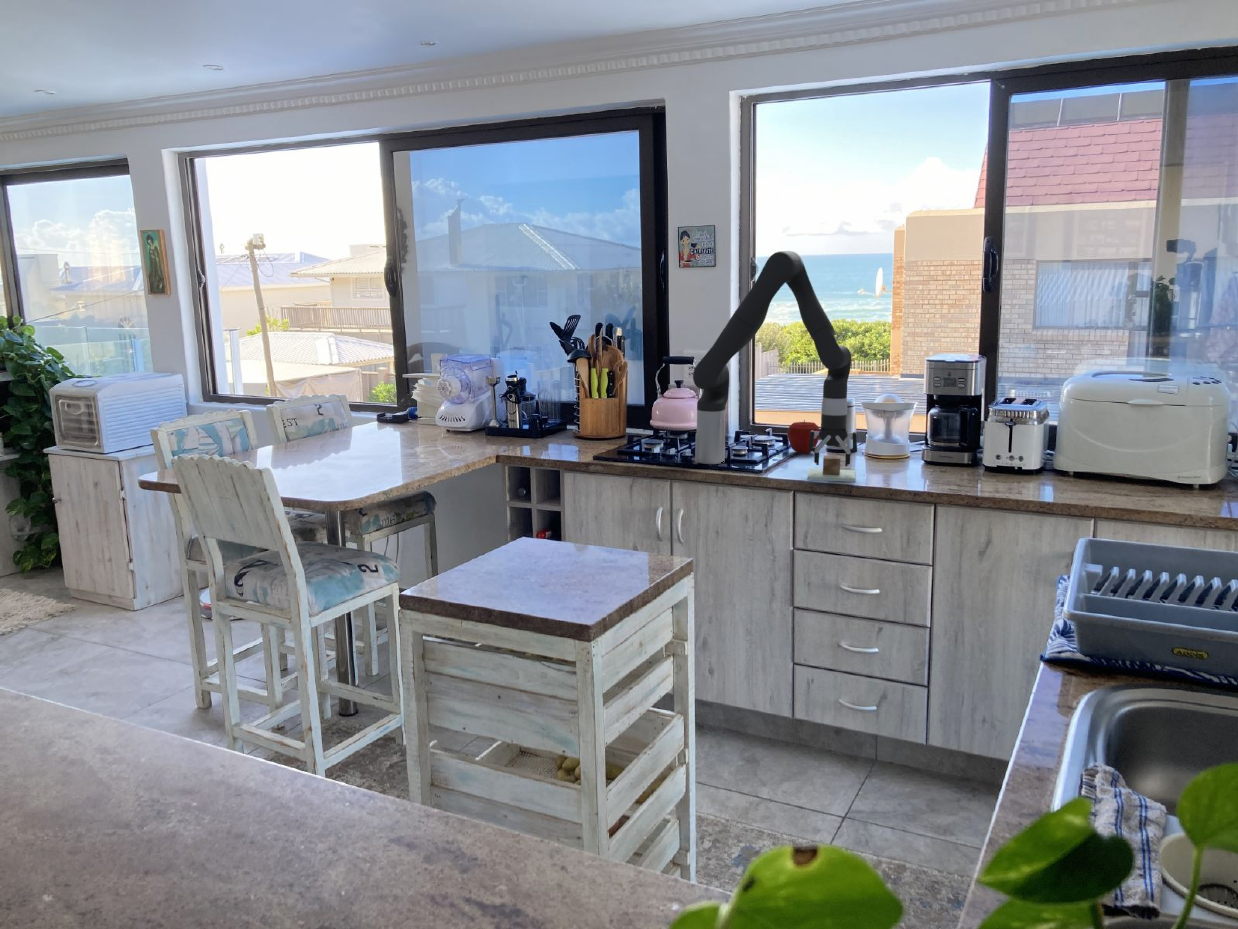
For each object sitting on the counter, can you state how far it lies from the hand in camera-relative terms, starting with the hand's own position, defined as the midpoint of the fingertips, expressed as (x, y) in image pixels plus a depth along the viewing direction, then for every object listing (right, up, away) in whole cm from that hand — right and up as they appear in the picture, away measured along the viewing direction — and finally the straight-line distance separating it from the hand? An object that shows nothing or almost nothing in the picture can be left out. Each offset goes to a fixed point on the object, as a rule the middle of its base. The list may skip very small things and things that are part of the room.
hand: (831, 465), depth 296 cm
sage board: (0, -3, +1) cm, 3 cm away
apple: (-2, +4, +37) cm, 38 cm away
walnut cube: (0, -2, +1) cm, 3 cm away
